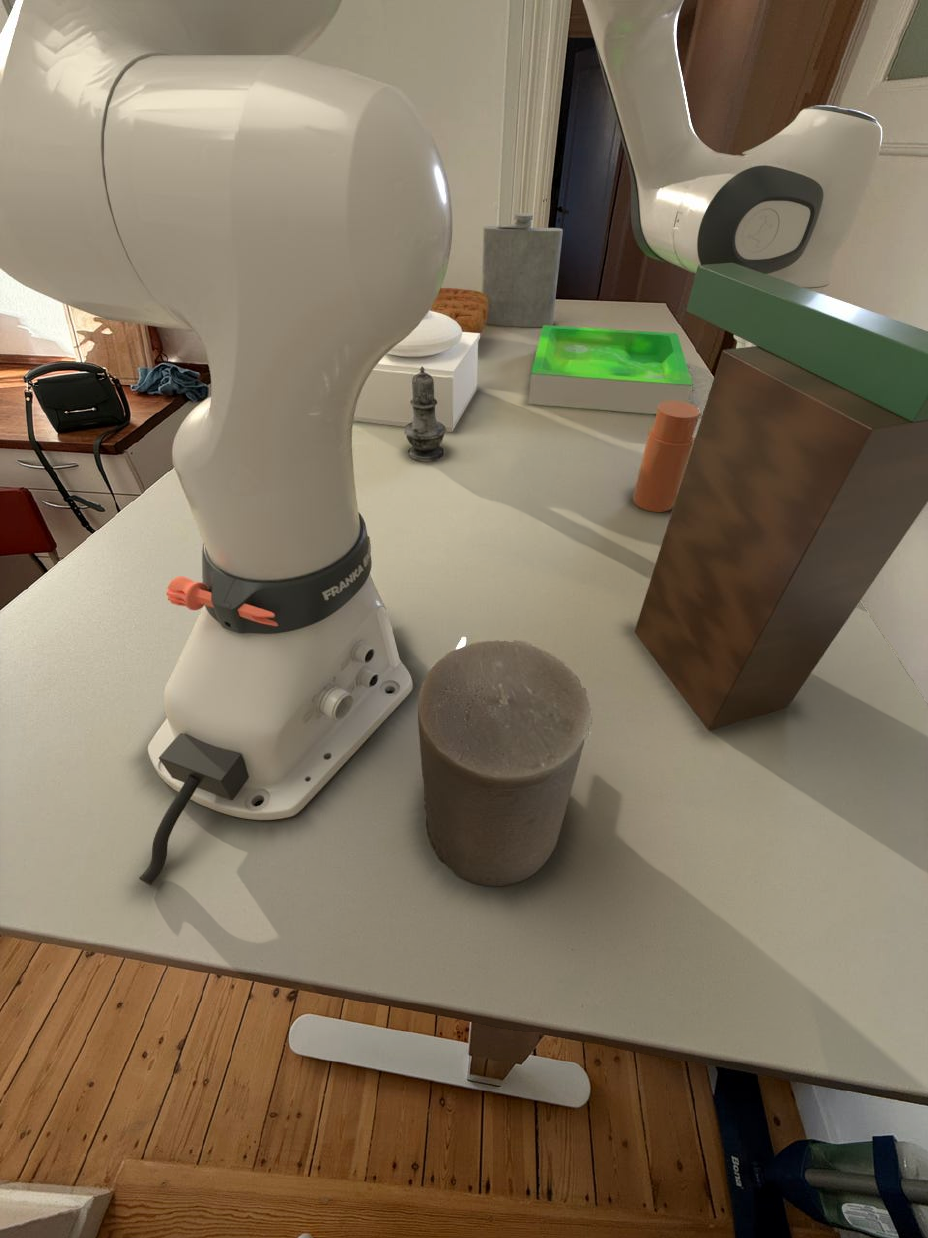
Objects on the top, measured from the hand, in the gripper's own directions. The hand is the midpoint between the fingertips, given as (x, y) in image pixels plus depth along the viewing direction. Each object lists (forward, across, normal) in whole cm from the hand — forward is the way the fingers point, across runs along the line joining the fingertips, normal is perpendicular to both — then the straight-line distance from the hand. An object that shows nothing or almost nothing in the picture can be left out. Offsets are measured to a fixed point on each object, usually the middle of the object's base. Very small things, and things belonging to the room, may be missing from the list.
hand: (730, 428), depth 70 cm
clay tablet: (+7, +36, +56) cm, 67 cm away
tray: (+7, +28, +21) cm, 36 cm away
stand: (+7, -36, -2) cm, 37 cm away
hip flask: (+7, +53, +46) cm, 70 cm away
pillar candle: (+7, -57, +11) cm, 59 cm away
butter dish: (+7, +6, +48) cm, 49 cm away
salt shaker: (+7, -9, +39) cm, 41 cm away
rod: (-19, -33, 0) cm, 38 cm away
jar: (+7, -9, +7) cm, 13 cm away
